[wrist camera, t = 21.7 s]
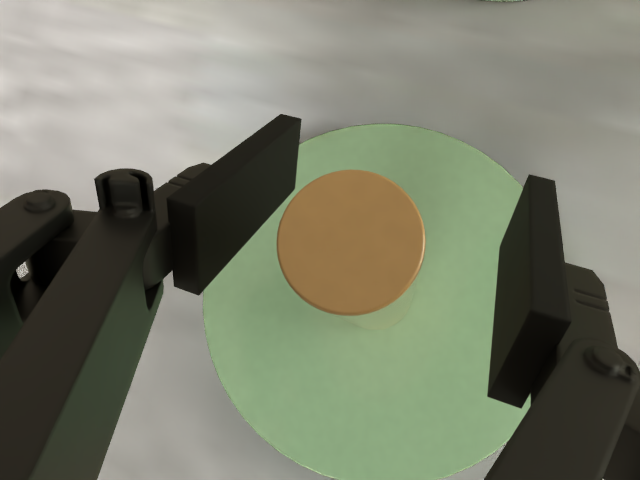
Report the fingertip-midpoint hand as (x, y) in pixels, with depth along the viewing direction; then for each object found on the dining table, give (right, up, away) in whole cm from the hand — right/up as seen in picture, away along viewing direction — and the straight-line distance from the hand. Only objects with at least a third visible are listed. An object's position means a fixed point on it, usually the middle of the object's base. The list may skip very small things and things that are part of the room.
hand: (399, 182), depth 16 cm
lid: (-1, -4, +3) cm, 5 cm away
